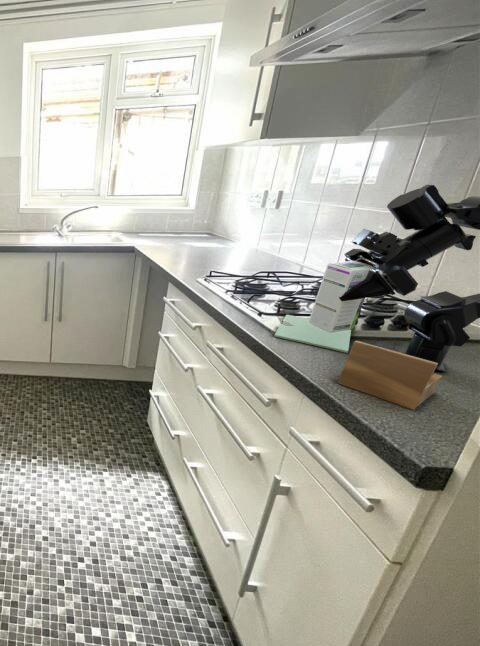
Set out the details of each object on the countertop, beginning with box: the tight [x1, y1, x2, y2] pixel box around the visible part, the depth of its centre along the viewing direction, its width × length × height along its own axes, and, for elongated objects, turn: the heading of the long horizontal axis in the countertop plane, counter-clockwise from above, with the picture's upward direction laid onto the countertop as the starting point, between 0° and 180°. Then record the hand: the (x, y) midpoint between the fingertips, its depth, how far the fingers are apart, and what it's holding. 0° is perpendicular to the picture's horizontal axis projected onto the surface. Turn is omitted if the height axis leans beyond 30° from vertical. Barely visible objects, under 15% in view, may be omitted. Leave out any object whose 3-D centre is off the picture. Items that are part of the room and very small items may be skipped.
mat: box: [273, 314, 352, 354], centre depth 106 cm, size 20×14×1 cm
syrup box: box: [308, 260, 376, 333], centre depth 90 cm, size 6×6×14 cm
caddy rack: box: [337, 340, 442, 411], centre depth 78 cm, size 10×11×9 cm
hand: (332, 294), depth 91 cm, fingers closed on syrup box, 7 cm apart
